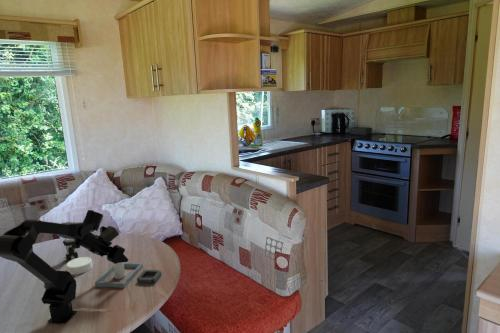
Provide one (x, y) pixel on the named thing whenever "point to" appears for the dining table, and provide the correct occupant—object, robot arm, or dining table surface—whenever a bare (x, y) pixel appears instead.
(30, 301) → the dining table surface
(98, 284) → the parts tray
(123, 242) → the dining table surface
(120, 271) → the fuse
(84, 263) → the white round disc
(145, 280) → the grey piece
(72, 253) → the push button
